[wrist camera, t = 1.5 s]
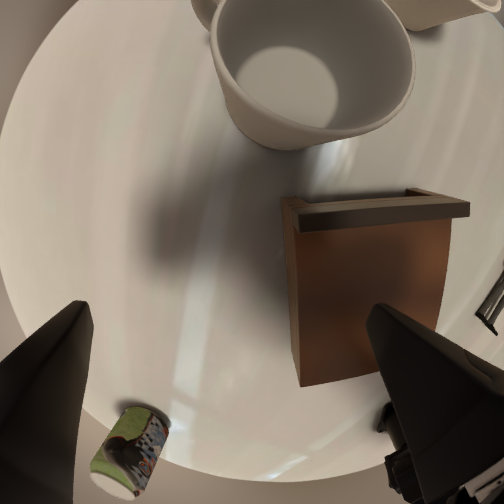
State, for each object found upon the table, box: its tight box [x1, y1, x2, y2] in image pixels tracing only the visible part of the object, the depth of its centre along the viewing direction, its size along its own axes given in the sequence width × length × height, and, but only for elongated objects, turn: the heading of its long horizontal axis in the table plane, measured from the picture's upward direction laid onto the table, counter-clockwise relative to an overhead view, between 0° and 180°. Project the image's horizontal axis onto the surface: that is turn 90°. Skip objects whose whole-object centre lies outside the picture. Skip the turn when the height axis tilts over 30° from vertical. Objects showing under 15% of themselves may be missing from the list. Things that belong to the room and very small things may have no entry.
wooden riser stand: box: [281, 188, 470, 387], centre depth 19 cm, size 14×12×7 cm
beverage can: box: [90, 407, 169, 501], centre depth 22 cm, size 6×7×12 cm
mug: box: [191, 0, 416, 150], centre depth 13 cm, size 12×8×11 cm
